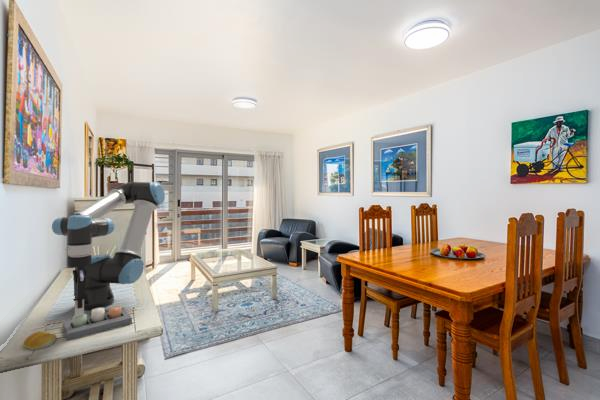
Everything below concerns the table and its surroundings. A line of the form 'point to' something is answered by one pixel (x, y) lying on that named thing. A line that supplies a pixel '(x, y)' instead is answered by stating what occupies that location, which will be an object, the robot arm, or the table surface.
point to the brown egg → (114, 312)
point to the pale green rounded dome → (79, 320)
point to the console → (96, 325)
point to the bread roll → (39, 340)
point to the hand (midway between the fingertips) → (79, 315)
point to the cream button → (97, 314)
